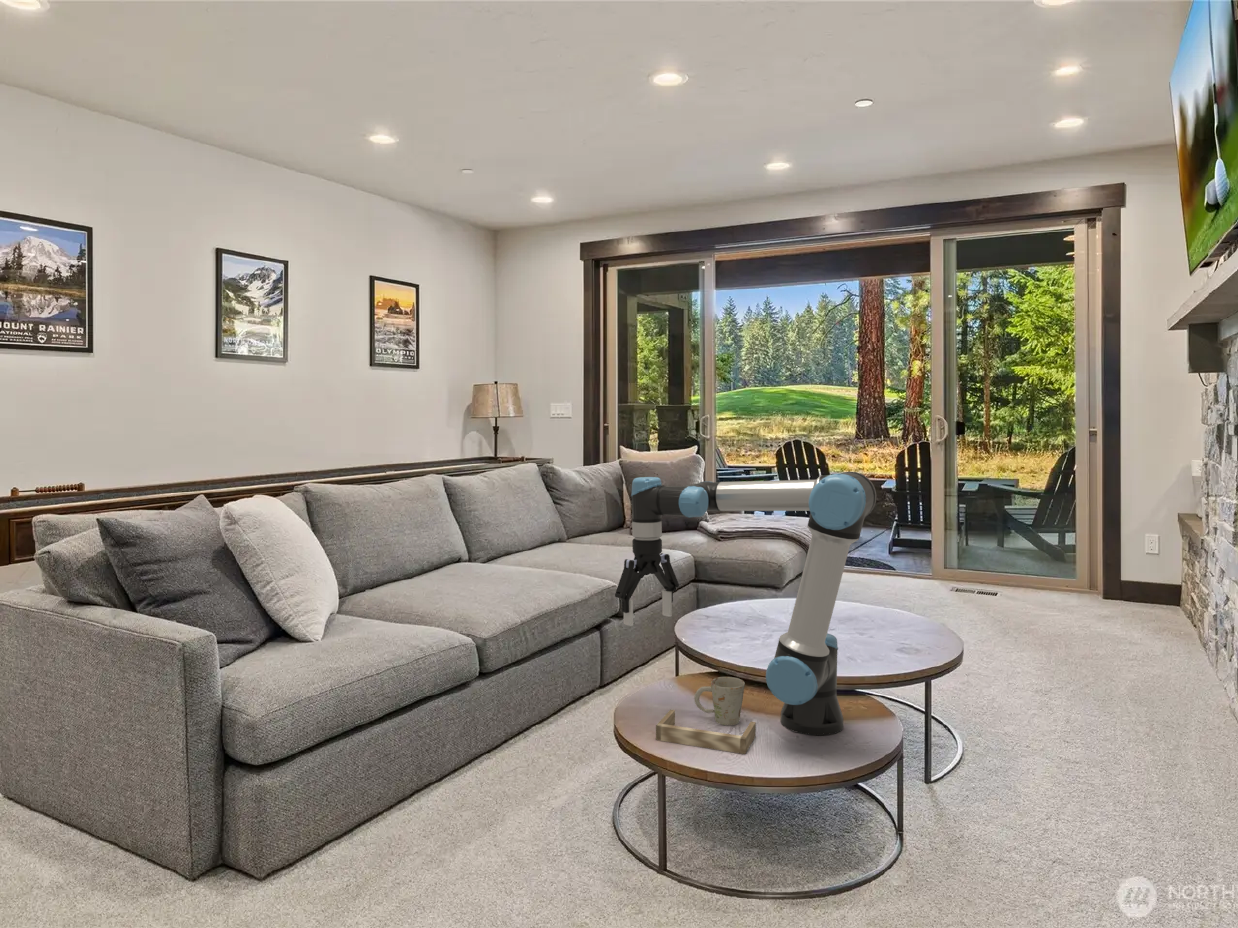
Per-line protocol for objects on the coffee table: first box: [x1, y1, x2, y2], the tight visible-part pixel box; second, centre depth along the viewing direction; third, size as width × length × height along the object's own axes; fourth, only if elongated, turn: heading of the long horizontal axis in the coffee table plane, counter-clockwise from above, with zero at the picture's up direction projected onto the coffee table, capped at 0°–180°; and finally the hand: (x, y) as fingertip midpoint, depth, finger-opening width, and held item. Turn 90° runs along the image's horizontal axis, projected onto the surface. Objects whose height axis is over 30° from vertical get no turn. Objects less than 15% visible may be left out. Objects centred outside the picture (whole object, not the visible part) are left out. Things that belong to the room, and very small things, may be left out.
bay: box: [655, 709, 757, 755], centre depth 193 cm, size 21×11×4 cm, turn 68°
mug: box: [693, 676, 745, 726], centre depth 204 cm, size 8×13×10 cm, turn 78°
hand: (648, 620), depth 207 cm, fingers open, 13 cm apart
